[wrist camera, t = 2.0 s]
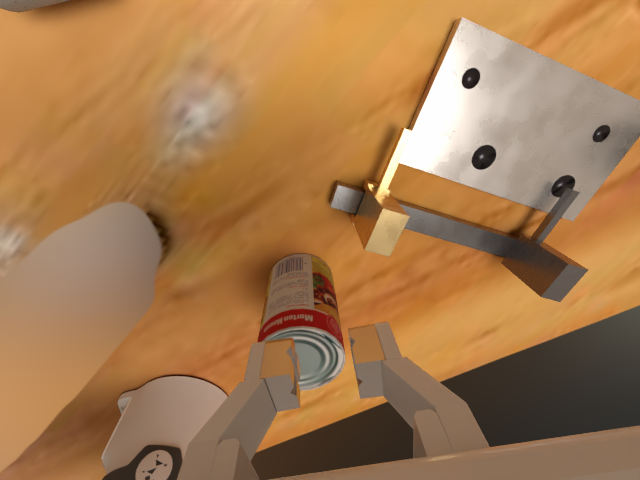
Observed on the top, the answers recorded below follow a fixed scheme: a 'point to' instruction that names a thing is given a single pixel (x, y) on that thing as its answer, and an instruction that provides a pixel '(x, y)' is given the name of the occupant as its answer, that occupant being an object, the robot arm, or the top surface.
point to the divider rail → (492, 241)
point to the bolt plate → (518, 122)
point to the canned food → (305, 317)
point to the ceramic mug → (26, 4)
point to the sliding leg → (382, 207)
